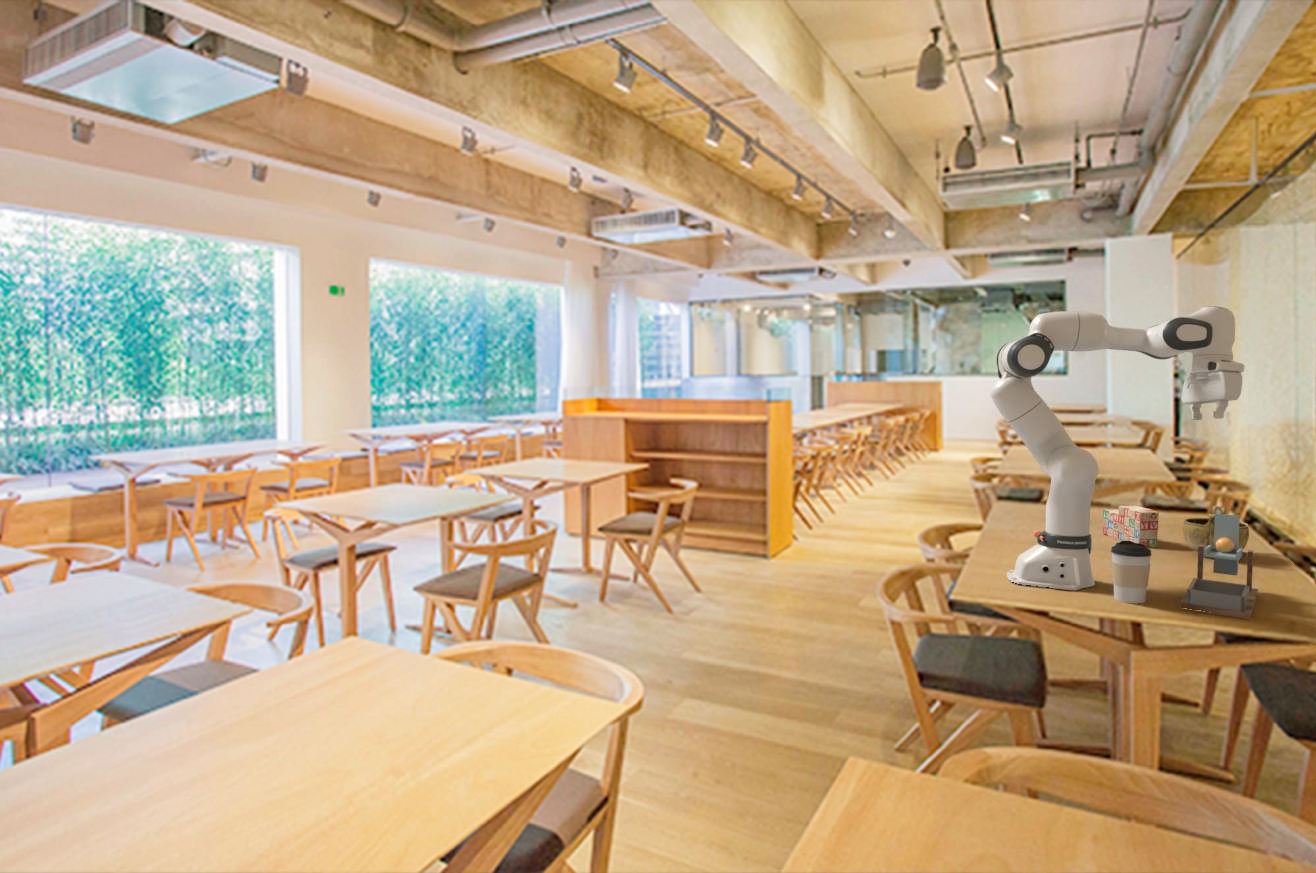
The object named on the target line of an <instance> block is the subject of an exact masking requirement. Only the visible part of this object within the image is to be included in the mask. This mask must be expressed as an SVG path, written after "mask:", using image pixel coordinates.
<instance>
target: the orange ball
mask: <svg viewBox="0 0 1316 873" xmlns="http://www.w3.org/2000/svg"><path fill="white" fill-rule="evenodd" d="M1216 548H1217V549H1218V550H1219V551H1220V552H1223V553H1229V552H1231V551H1232V550H1233V549H1234V543H1233V541H1232V540H1230V539H1228V538H1220V539H1218V540H1217V542H1216Z"/></svg>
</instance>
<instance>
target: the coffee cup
mask: <svg viewBox="0 0 1316 873" xmlns="http://www.w3.org/2000/svg"><path fill="white" fill-rule="evenodd" d="M1110 549H1111V550H1110V552H1111V572H1112V573H1111V574H1112V583H1113V597H1114V599H1116V601H1118V602H1120V601H1122V603H1125V604H1133V603H1135V604H1136V605H1138V603H1140V604H1144V603H1146V596H1147V588H1148V586H1149V576H1150V569H1151V556H1152V555H1153V554H1152V550H1151V549H1149V547H1147V546H1146V545H1144V544H1139V543H1134V542H1132V541H1119V542H1116V543H1115V545H1113V546H1112V547H1111V548H1110ZM1135 604H1134V605H1135Z"/></svg>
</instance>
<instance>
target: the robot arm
mask: <svg viewBox="0 0 1316 873" xmlns="http://www.w3.org/2000/svg"><path fill="white" fill-rule="evenodd" d="M1235 320H1236V319H1235V315H1234V313H1233V311H1232V310H1230V309H1228V308H1225V307H1221V306H1204V307H1202V308H1200V309H1198V310H1197V311H1194V312H1192V313H1189V314H1186V315H1183V316H1178V317H1173V318H1171V319H1169V320H1166V321H1164V322H1162V323H1159V324H1156V325H1153V326H1150V327H1147V328H1130V327H1118V326H1116V327H1115V326H1112V325H1111V324H1109V321H1108V319H1106V317H1105V316H1103V315H1102V314H1099V313H1094V312H1088V311H1078V310H1077V311H1074V310H1073V311H1071V310H1070V311H1069V310H1066V311H1052V312H1043V313H1040V314H1038V315H1036V316H1035V317H1034V318H1033V319H1032V321H1031V322H1030V325H1029V330H1028V333H1027V335H1026V336H1025V337H1021V338H1017V339H1014V340H1011V341H1009V342H1006V343H1004V345H1002V346H1001V347H1000V349H999V350H998V352H997V355H996V367H997V374H998V378H999V379H998V380H997V381H996V382H995V383H994V384H993V385H992V387H991V389H990V397H991V399H992V401H993V403H994V405H995V406H996V409H997V410H998V412H999V413H1000V414H1001V416H1002V417H1003V419H1004V420H1005V421H1006V423H1007V424H1008V425H1009V426H1010V427H1011V429H1012V430H1013V431H1014V433H1015V434H1016V435H1017V436H1018V437H1019V439H1020V441H1022V442H1023V444H1024V445H1025V447H1026V448H1027V449H1028V450H1029V453H1030V454H1031V455H1032V457H1033V458H1034V460H1035V461H1036V463H1038V465H1039V466H1040V467H1041V469H1042V470H1043V471H1044V472H1045V475H1047V476H1048V477H1049V478H1050V487H1049V491H1048V497H1047V500H1046V503H1045V530H1044V531H1040V530H1038V529H1037V530H1034V532H1033V536H1034V537H1035V538H1036V542H1037V544H1035V545H1033V546H1031V547H1029V548H1028V549H1026V550H1025V551H1023V552H1022V553H1020V554H1019V555H1017V556H1018V557H1017V558H1016V561H1015V566H1014V569H1010V570H1008V571H1007V572H1006V578H1008V579H1009V580H1011V581H1010V582H1011V583H1012V582H1014V583H1013V584H1015V583H1017V584H1016V585H1018V584H1022V585H1021V586H1026V585H1031V586H1030V587H1036V586H1038V588H1046V587H1049V589H1058V590H1065V591H1067V590H1068V591H1079V590H1081V589H1085V588H1091V587H1093V586H1095V585H1096V582H1095V580H1094V577H1093V572H1092V571H1093V570H1092V565H1091V563H1092V562H1091V551H1092V544H1093V542H1092V535H1091V533H1090V530H1091V529H1090V526H1091V523H1090V522H1091V520H1090V519H1091V504H1092V500H1093V495H1094V490H1095V485H1096V479H1097V478H1098V475H1099V471H1100V470H1099V464H1098V461H1097V460H1096V458H1095V457H1094V455H1093V454H1092V453H1091V452H1089V451H1088V450H1086V449H1084V448H1081V447H1079V446H1078V445H1076V444H1075V442H1074V441H1073V439H1072V438H1071V437H1070V435H1069V433H1068V432H1067V431H1066V429H1065V427H1064V426H1063V424H1062V422H1061V420H1060V419H1059V417H1057V415H1056V414H1055V413H1054V411H1053V410H1052V409H1051V407H1049V406H1048V403H1046V402H1045V400H1044V399H1043V398H1042V397H1041V396H1040V395H1039V393H1037V391H1036V389H1035V387H1034V386H1033V384H1032V383H1033V382H1032V377H1035V376H1037V375H1039V374H1041V373H1043V371H1044V370H1045V369H1046V367H1047V366H1048V364H1049V362H1050V359H1051V357H1052V355H1053V353H1054V351H1055V352H1057V351H1059V352H1061V351H1062V352H1091V351H1092V352H1094V351H1099V350H1101V351H1102V350H1118V351H1130V352H1131V351H1132V352H1138V353H1141V354H1144V355H1145V356H1148V357H1150V358H1153V359H1156V360H1170V359H1171V358H1174V357H1176V356H1178V355H1181V354H1184V353H1191V354H1192V362H1191V371H1190V374H1189V375H1188V376H1187V377H1186V378H1185V379H1184V383H1183V386H1182V392H1181V399H1180V400H1181V403H1182V404H1183V405H1189V409H1190V411H1191V419H1192V420H1193V421H1201V420H1202V419H1203V413H1201V408H1202V404H1203V405H1204V404H1212V403H1216V404H1215V405H1216V408H1215V411H1213V415H1212V417H1213V419H1219V420H1220V419H1224V417H1225V411H1226V410H1227V408H1228V407H1229V402H1231V401H1238V399H1239V398H1240V396H1241V394H1242V388H1243V375H1242V374H1243V373H1244V371H1245V364H1244V363H1241V362H1237V361H1235V360H1234V353H1233V346H1234V343H1235V340H1236V321H1235ZM1008 579H1007V580H1008ZM1009 580H1008V581H1009Z"/></svg>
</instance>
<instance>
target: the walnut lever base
mask: <svg viewBox="0 0 1316 873" xmlns="http://www.w3.org/2000/svg"><path fill="white" fill-rule="evenodd" d="M1204 558H1205V557H1204V545H1199V546H1198V552H1197V570H1196V571H1197V574H1196V577H1197V579H1204V577H1203V576H1204ZM1253 565H1254V550H1250V549H1249V550H1248V551H1247V565H1246V566H1247V567H1246V568H1247V569H1246V585H1249V600H1248V603H1247V606H1246V610H1245V612H1240V611H1234V610H1227V609H1220V608H1214V607H1207V606H1200V605H1194V604H1187V603H1186V600H1187V592H1186V593H1185V594H1184V596H1183V598H1182V600H1181V601H1180V606H1179V609H1180V608H1187V609H1192V610H1201V611H1205V612H1211V613H1214V614H1213V615H1217V614H1220V615H1219V616H1225V617H1230V618H1237V619H1245V620H1252V617H1253V612H1254V610H1255V606H1256V603H1257V602H1256V601H1257V598H1258V592H1259V591H1258V590H1259V589H1258V588H1253V587H1252V586H1253V571H1254V570H1253ZM1211 613H1210V614H1211Z"/></svg>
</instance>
